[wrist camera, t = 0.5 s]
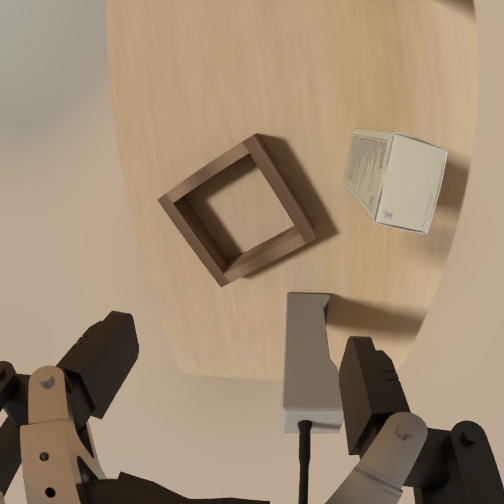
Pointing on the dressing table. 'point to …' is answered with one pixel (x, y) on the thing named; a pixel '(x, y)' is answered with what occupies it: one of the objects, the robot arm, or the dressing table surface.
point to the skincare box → (395, 178)
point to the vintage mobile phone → (308, 378)
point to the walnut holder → (202, 239)
